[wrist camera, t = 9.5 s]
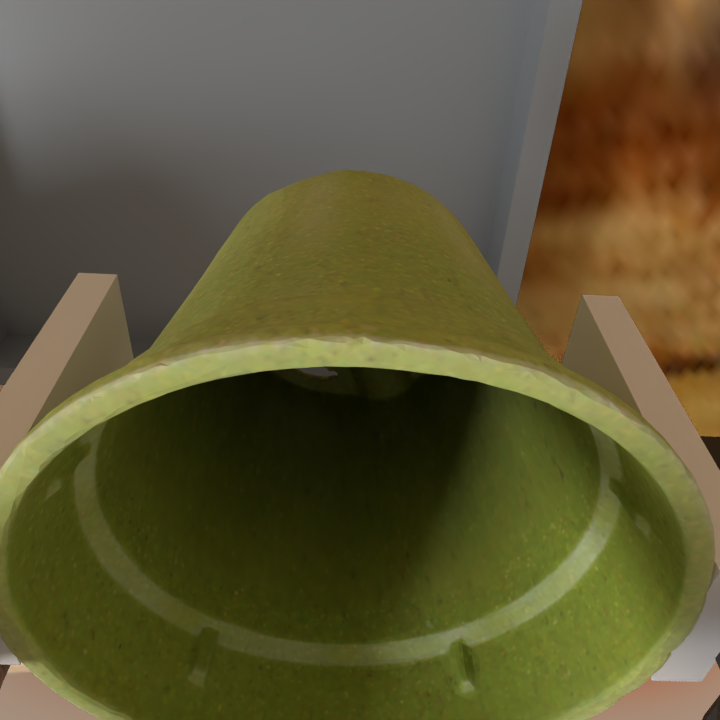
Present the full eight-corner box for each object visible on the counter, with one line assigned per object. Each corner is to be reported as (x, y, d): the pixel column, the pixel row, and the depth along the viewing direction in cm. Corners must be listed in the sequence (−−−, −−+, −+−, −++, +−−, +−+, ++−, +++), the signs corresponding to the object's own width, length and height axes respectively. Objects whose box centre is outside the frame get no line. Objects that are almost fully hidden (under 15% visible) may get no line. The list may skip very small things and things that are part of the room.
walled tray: (484, 357, 33) (494, 404, 31) (1, 338, 33) (-33, 383, 30) (616, -321, 19) (659, -350, 16) (-251, -368, 18) (-360, -405, 16)
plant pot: (211, -7, 12) (13, 190, 5) (639, 189, 14) (901, 506, 7) (112, 369, 17) (-51, 716, 10) (438, 468, 20) (481, 807, 13)
